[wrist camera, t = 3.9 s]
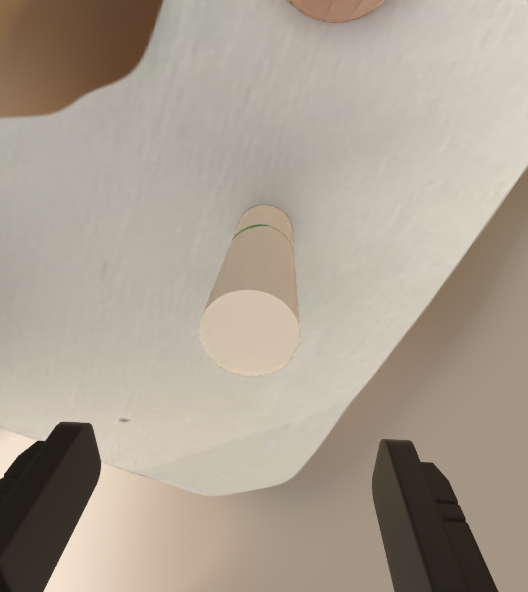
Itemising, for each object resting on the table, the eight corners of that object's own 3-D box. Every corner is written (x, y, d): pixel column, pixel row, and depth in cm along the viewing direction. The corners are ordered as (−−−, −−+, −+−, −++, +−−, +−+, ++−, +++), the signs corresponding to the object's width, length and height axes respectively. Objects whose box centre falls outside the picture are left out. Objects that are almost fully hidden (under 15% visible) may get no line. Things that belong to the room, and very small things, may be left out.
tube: (300, 217, 29) (317, 311, 15) (279, 265, 31) (276, 388, 17) (248, 196, 28) (217, 274, 15) (229, 246, 30) (186, 357, 17)
